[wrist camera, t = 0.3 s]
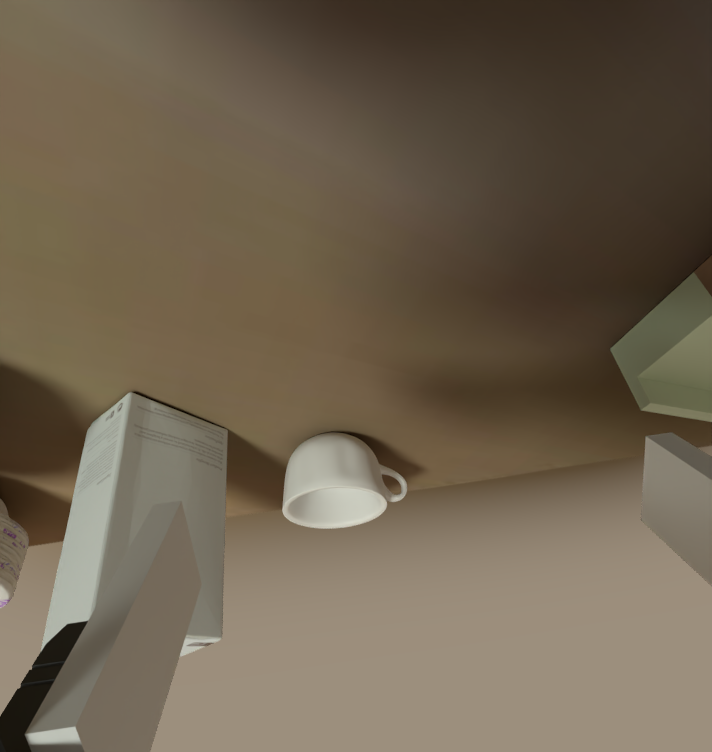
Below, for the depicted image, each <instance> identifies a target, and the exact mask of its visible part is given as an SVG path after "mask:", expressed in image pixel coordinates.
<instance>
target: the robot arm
mask: <svg viewBox="0 0 712 752" xmlns="http://www.w3.org/2000/svg"><path fill="white" fill-rule="evenodd" d="M641 521H642V522H643V523H645V524H646V525H647V526H648V527H649V528H650V529H651V530H652V531H653V532H654V533H655V534H656V535H657V536H659V538H661V539H662V540H663V541H664V542H665V543H666V544H667V545H668V546H669V547H670V548H671V549H672V550H673V551H674V552H675V553H677V554H678V555H679V556H680V557H681V558H682V559H683V560H684V561H685V562H686V563H687V564H688V565H689V566H690V567H692V568H693V569H694V570H695V571H696V572H697V573H698V574H699V575H700V576H701V577H702V578H703V579H704V580H705V581H707V582H708V583H709V584H710V585H711V586H712V457H711V456H710V455H708V454H706V453H705V452H703V451H701V450H700V449H698V448H697V447H695V446H693V445H692V444H690V443H688V442H687V441H685V440H683V439H682V438H680V437H678V436H677V435H675V434H674V433H665V434H657V435H650V436H646V440H645V457H644V476H643V492H642V510H641ZM201 585H202V582H201V578H200V574H199V570H198V566H197V562H196V558H195V554H194V549H193V545H192V541H191V537H190V533H189V529H188V525H187V521H186V517H185V513H184V509H183V505H182V501H176V502H169V503H162V504H155V505H153V506H152V508H151V510H150V512H149V514H148V515H147V517H146V519H145V521H144V523H143V524H142V526H141V528H140V530H139V531H138V533H137V535H136V537H135V539H134V540H133V542H132V544H131V546H130V547H129V549H128V551H127V553H126V555H125V556H124V558H123V560H122V562H121V563H120V565H119V567H118V569H117V571H116V572H115V574H114V576H113V578H112V579H111V581H110V583H109V585H108V587H107V588H106V590H105V592H104V594H103V595H102V597H101V599H100V601H99V603H98V604H97V606H96V608H95V610H94V612H93V613H92V615H91V617H90V619H89V620H88V621H83V622H77V623H70V624H67V625H66V626H65V627H63V628H62V629H61V630H60V631H59V632H58V633H57V634H56V635H55V636H54V637H53V638H52V639H51V640H50V641H49V642H47V643H46V645H45V646H44V648H43V649H42V651H41V653H40V654H39V656H38V657H37V659H36V661H35V662H34V664H33V665H32V670H29V672H28V673H27V675H26V677H25V678H24V680H23V681H22V683H21V687H20V688H19V689H17V691H16V692H15V694H14V695H13V697H12V699H11V700H10V702H9V703H8V705H7V707H6V708H5V710H4V711H3V713H2V714H1V716H0V752H150V750H151V747H152V744H153V741H154V737H155V734H156V731H157V727H158V724H159V721H160V718H161V715H162V711H163V708H164V705H165V701H166V698H167V695H168V692H169V689H170V685H171V682H172V679H173V676H174V673H175V669H176V666H177V663H178V660H179V656H180V653H181V650H182V647H183V644H184V640H185V637H186V634H187V631H188V627H189V624H190V621H191V618H192V614H193V611H194V608H195V605H196V601H197V598H198V595H199V592H200V589H201Z"/></svg>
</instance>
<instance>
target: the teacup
mask: <svg viewBox="0 0 712 752" xmlns="http://www.w3.org/2000/svg"><path fill="white" fill-rule="evenodd" d="M382 474H384V475H389V476H392V477H394V478H395V479H396V480H398V482H399V483H400V485H401V494H399V495H395V494H393V493H391V492H390V491H389V490H388V488H387V487H386V486H385V484H384V482H383V479H382ZM406 493H407V483H406V481H405V479H404V478H403V477H402V476H401V475H400V474H399V473H397V472H396V471H394V470H392V469H390V468H388V467H385V466H383V465H380V464H379V463H378V460H377V458H376V456H375V454H374V453H373V451H372V450H371V449H370V448H369V446H368V445H367V444H365V443H364V442H363V441H362V440H360V439H358V438H356V437H354V436H351V435H348V434H345V433H338V432H330V433H323V434H319V435H316V436H314V437H312V438H310V439H308V440H306V441H304V442H303V443H302V444H300V445H299V446H298V447H297V448H296V450H295V451H294V452H293V454H292V455H291V457H290V460H289V462H288V466H287V470H286V475H285V484H284V495H283V508H282V511H283V514H284V516H285V517H286V518H287V519H288V520H290V521H291V522H293V523H296V524H299V525H302V526H306V527H312V528H342V527H350V526H355V525H359V524H362V523H365V522H368V521H371V520H373V519H374V518H376V517H378V516H379V515H381V514H382V513H383V512H384V511H385V509H386V507H387V501H391V502H395V501H399V500H401V499H403V497H404V496H405V495H406ZM386 500H387V501H386Z"/></svg>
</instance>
